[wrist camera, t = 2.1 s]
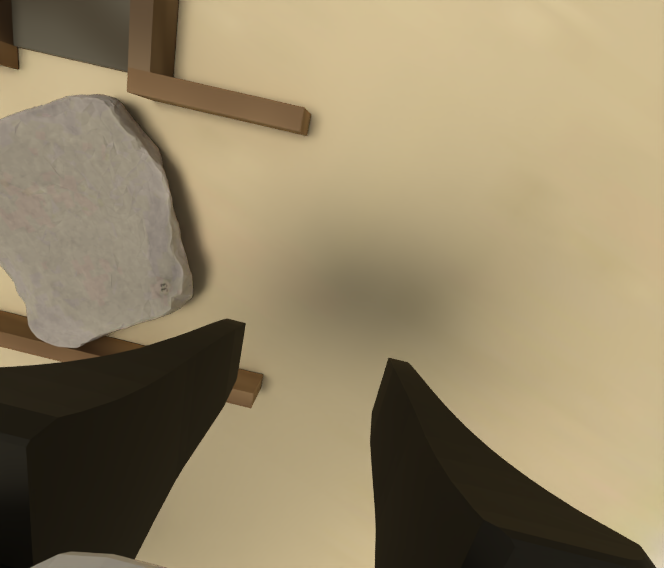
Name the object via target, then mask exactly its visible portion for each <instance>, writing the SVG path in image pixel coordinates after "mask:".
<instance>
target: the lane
mask: <svg viewBox="0 0 664 568" xmlns="http://www.w3.org/2000/svg"><path fill="white" fill-rule="evenodd" d="M178 3H179V0H0V65H2V66H6V67H10V68H15V69H18V50H17V47H20V48H24V49H28V50H33V51H37V52H41V53H46V54H50V55H54V56H59V57H63V58H68V59H72V60H76V61H81V62H85V63H89V64H94V65H98V66H102V67H107V68H111V69H116V70H120V71H124V72H128V78H127V92H129V93H132V94H135V95H138V96H141V97H144V98H147V99H150V100H154V101H158V102H162V103H167V104H171V105H175V106H180V107H184V108H188V109H193V110H197V111H201V112H206V113H210V114H214V115H219V116H223V117H227V118H232V119H236V120H240V121H245V122H249V123H253V124H258V125H262V126H266V127H271V128H275V129H279V130H284V131H288V132H292V133H297V134H301V135H305V136H307V133H308V128H309V122H310V117H311V114H310V113H309V112H308V111H307V110H306V109H305V108H304V107H300V106H295V105H291V104H287V103H282V102H278V101H273V100H269V99H265V98H260V97H256V96H252V95H247V94H243V93H239V92H234V91H230V90H225V89H221V88H217V87H212V86H208V85H204V84H199V83H195V82H191V81H186V80H182V79H177V78H173V73H174V59H175V45H176V31H177V17H178ZM0 347H4V348H8V349H12V350H16V351H20V352H24V353H28V354H32V355H37V356H41V357H45V358H49V359H53V360H57V361H61V362H68V361H74V360H81V359H87V358H94V357H100V356H106V355H111V354H116V353H120V352H124V351H129V350H133V349H137V348H141V347H144V346H143V345H139V344H135V343H131V342H127V341H123V340H119V339H115V338H111V337H106V336H103V337H100V338H98V339H96V340H93V341H90V342H88V343H85V344H84V345H82V346H80V347H78V348H68V347H58V346H54V345H51V344H49V343H46V342H44V341H42V340H40V339H39V338H37V337H36V336H35V334H34V333H33V332H32V331H31V329H30V327H29V325H28V319H27V317H24V316H20V315H16V314H12V313H8V312H4V311H0ZM262 378H263V375H262V374H258V373H254V372H250V371H246V370H242V369H238V375H237V380H236V382H235V384H234V386H233V389H232V391H231V393H230V395H229V397H228V399H227V401H226V402H228V403H232V404H236V405H240V406H244V407H248V408H251V407H252V405H253V403H254V401H255V399H256V397H257V395H258V393H259V391H260V389H261V384H262Z"/></svg>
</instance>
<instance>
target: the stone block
mask: <svg viewBox="0 0 664 568" xmlns="http://www.w3.org/2000/svg"><path fill="white" fill-rule="evenodd" d="M0 266H1V267H2V268H3V269H4V270H5V271H6V273H7V274H8V275H9V276H10V278H11V279H12V281H13V282H14V284H15V287H16V291H17V293H18V294H19V296H20V297H21V298H22V300H23V301H24V302H25V305H26V310H27V319H28V325H29V327H30V329H31V331H32V332H33V333H34V334H35V336H36V337H37V338H39V339H40V340H42V341H44V342H46V343H49V344H51V345H54V346H58V347H68V348H78V347H80V346H82V345H84V344H85V343H88V342H90V341H93V340H96V339H98V338H100V337H103V336H105V335H107V334H109V333H111V332H113V331H117V330H120V329H125V328H128V327H131V326H133V325H136V324H138V323H141V322H146V321H150V320H153V319H157V318H160V317H162V316H165V315H168V314H171V313H173V312H174V311H176V310H178V309H180V308H181V307H182V306H183V305H184V304H185V303H186V302H187V301H188V300H190V299H191V298H192V297H193V282H192V273H191V271H190V269H189V265H188V260H187V256H186V253H185V251H184V247H183V244H182V241H181V231H180V228H179V222H178V221H177V219H176V215H175V212H174V208H173V204H172V196H171V193H170V190H169V185H168V180H167V178H166V174H165V171H164V169H163V162H162V156H161V154H160V151H159V148H158V147H157V146H156V145H155V144H154V143H153V142H152V140H151V139H150V138H149V137H148V136H147V135H146V134H145V132H144V131H143V130H142V129H141V127H140V126H139V125H138V124H137V122H136V121H135V120H134V119H133V118H132V116H131V115H130V113H129V112H128V111H127V110H126V108H125V107H124V105H123V104H122V103H121V102H120V101H119V100H117V99H116V98H113V97H110V96H106V95H100V94H93V95H74V96H66V97H63V98H61V99H57V100H55V101H52V102H50V103H48V104H45V105H41V106H38V107H33V108H30V109H26V110H23V111H20V112H17V113H15V114H12V115H9V116H7V117H4V118H2V119H0Z"/></svg>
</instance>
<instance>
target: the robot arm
mask: <svg viewBox="0 0 664 568" xmlns="http://www.w3.org/2000/svg"><path fill="white" fill-rule="evenodd" d="M245 325H246V323H243V322H239V321H234V320H230V319H223V320H220V321H217V322H214V323H212V324H209V325H206V326H204V327H201V328H198V329H196V330H193V331H190V332H188V333H185V334H182V335H179V336H176V337H173V338H170V339H167V340H164V341H161V342H158V343H154V344H151V345H148V346H144V347H141V348H137V349H133V350H129V351H124V352H120V353H116V354H111V355H106V356H100V357H94V358H87V359H81V360H74V361H68V362H61V363H51V364H42V365H30V366H17V367H0V568H166V567H162V566H158V565H154V564H150V563H146V562H142V561H138V560H135V558H136V556H137V554H138V552H139V550H140V548H141V546H142V544H143V542H144V540H145V538H146V536H147V534H148V532H149V530H150V528H151V526H152V524H153V522H154V520H155V518H156V516H157V514H158V513H159V511H160V509H161V507H162V505H163V503H164V501H165V499H166V497H167V496H168V494H169V492H170V490H171V488H172V486H173V484H174V482H175V481H176V479H177V477H178V476H179V474H180V472H181V471H182V469H183V467H184V466H185V464H186V463H187V461H188V460H189V458H190V457H191V455H192V454H193V452H194V451H195V449H196V448H197V446H198V445H199V443H200V442H201V440H202V439H203V437H204V436H205V434H206V433H207V431H208V430H209V428H210V427H211V425H212V424H213V422H214V421H215V419H216V418H217V416H218V414H219V413H220V411H221V410H222V408H223V407H224V405H225V403H226V401H227V399H228V397H229V395H230V393H231V391H232V389H233V386H234V384H235V382H236V380H237V375H238V369H239V363H240V356H241V350H242V344H243V337H244V331H245ZM370 447H371V462H372V476H373V490H374V503H375V522H376V543H375V568H656V567H655V565H654V564H653V563H652V561H651V560H650V558H649V557H648V556H647V554H646V553H645V552H644V550H643V549H642V547H641V546H640V545H639V544H637V543H635V542H633V541H631V540H630V539H628V538H626V537H624V536H623V535H621V534H619V533H617V532H615V531H614V530H612V529H610V528H608V527H607V526H605V525H603V524H601V523H599V522H598V521H596V520H594V519H592V518H591V517H589V516H587V515H585V514H583V513H582V512H580V511H578V510H577V509H575V508H573V507H572V506H570V505H569V504H567V503H566V502H564V501H563V500H561V499H559V498H558V497H556V496H555V495H553V494H552V493H550V492H548V491H547V490H545V489H544V488H542V487H541V486H540V485H538V484H537V483H535V482H534V481H532V480H531V479H529V478H528V477H527V476H525V475H524V474H523V473H521V472H520V471H519V470H517V469H516V468H514V467H513V466H512V465H510V464H509V463H508V462H506V461H505V460H504V459H503V458H501V457H500V456H499V455H498V454H496V453H495V452H494V451H493V450H491V449H490V448H489V447H488V446H487V445H486V444H485V443H483V442H482V441H481V440H480V439H479V438H478V437H477V436H475V435H474V434H473V433H472V432H471V431H470V430H469V429H468V428H467V427H466V426H465V425H464V424H463V423H462V422H461V421H460V420H459V419H458V418H457V417H456V416H455V415H454V414H453V413H452V412H451V411H450V410H449V409H448V408H447V407H446V406H445V405H444V403H443V402H442V401H441V400H440V399H439V398H438V397H437V396H436V394H435V393H434V392H433V391H432V390H431V389H430V387H429V386H428V385H427V384H426V383H425V381H424V380H423V379H422V378H421V376H420V375H419V374H418V373H417V372H416V370H415V369H414V368H413V367H412V366H411V365H410V364H409V363H408V362H404V361H400V360H396V359H392V358H388V361H387V365H386V368H385V371H384V375H383V378H382V381H381V384H380V388H379V391H378V394H377V397H376V401H375V404H374V407H373V411H372V419H371V436H370Z"/></svg>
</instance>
